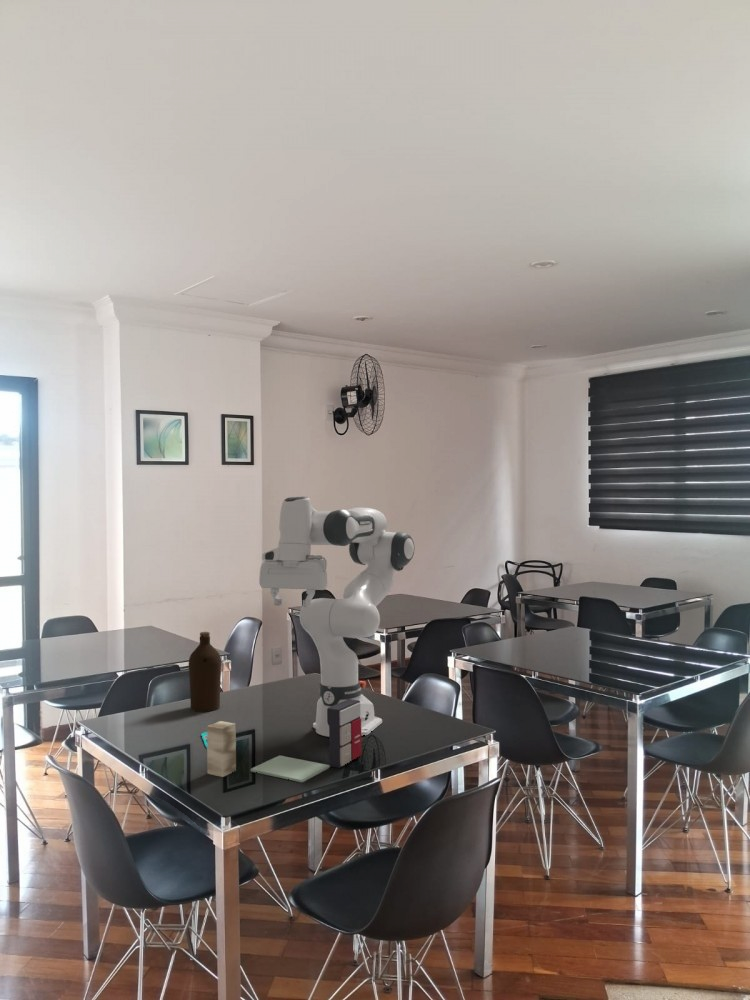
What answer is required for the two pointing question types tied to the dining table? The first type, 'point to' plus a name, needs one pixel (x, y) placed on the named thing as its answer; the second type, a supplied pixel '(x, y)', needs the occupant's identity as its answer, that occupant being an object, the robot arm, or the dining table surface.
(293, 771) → the rubber mat
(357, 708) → the dark grey box
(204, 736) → the handheld gaming console
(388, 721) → the dining table surface
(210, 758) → the birch block
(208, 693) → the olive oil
